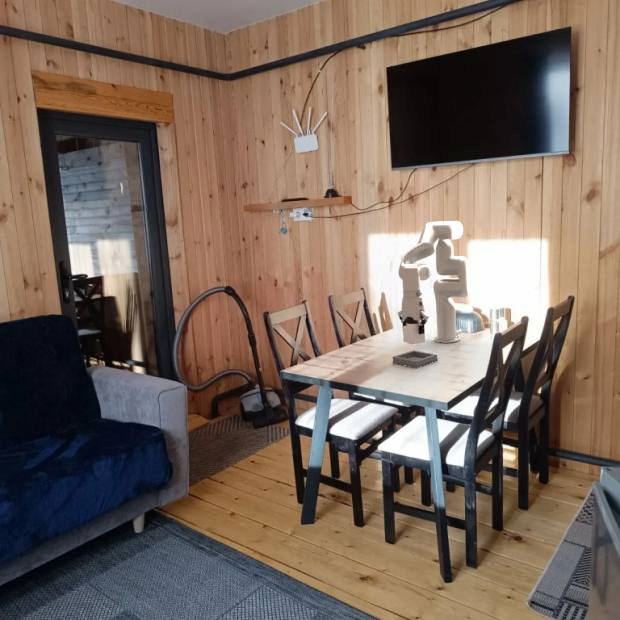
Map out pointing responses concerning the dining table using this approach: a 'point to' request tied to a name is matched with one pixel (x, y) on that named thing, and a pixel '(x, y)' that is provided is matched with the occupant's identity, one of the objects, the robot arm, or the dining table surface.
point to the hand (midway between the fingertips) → (413, 332)
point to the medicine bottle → (412, 332)
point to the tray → (415, 358)
